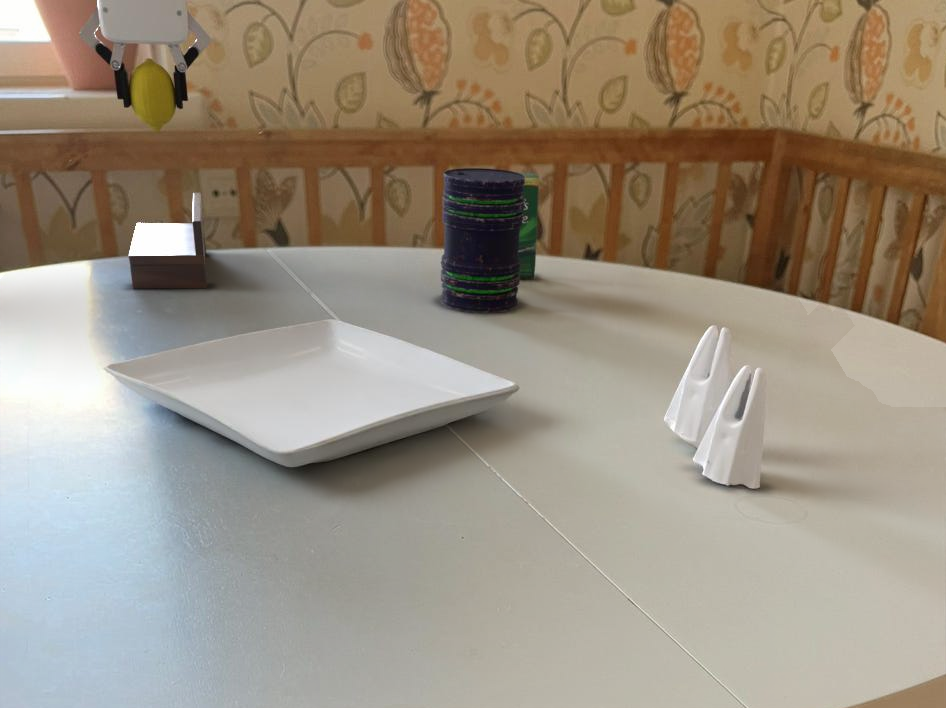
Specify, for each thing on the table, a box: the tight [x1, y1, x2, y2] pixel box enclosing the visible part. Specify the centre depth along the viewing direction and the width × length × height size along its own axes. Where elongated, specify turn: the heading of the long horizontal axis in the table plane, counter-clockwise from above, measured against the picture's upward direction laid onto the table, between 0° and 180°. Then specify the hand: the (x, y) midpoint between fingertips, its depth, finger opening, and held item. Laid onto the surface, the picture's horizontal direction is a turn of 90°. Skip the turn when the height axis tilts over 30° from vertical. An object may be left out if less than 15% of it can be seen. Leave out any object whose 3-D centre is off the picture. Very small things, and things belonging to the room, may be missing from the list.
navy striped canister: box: [440, 167, 525, 314], centre depth 128 cm, size 10×10×15 cm
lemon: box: [129, 58, 177, 132], centre depth 128 cm, size 6×6×8 cm
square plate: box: [102, 318, 520, 468], centre depth 95 cm, size 27×27×4 cm
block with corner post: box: [128, 192, 208, 290], centre depth 138 cm, size 20×9×8 cm, turn 13°
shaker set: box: [663, 324, 767, 490], centre depth 87 cm, size 12×4×11 cm, turn 14°
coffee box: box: [518, 173, 540, 280], centre depth 141 cm, size 8×3×13 cm, turn 95°
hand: (153, 105), depth 129 cm, fingers closed on lemon, 5 cm apart
